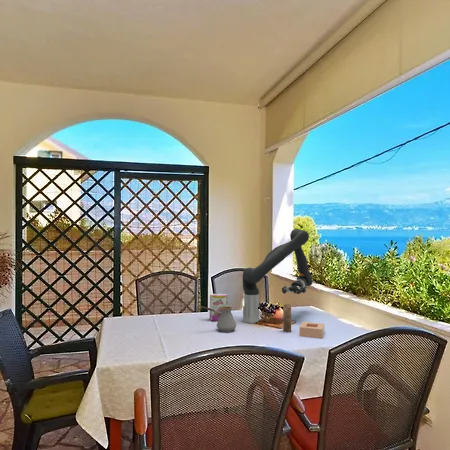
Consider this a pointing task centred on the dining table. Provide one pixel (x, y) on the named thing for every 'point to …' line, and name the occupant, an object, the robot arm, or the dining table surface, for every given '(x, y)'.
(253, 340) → the dining table surface
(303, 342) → the dining table surface
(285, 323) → the walnut peg
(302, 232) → the robot arm
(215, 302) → the candy bar box
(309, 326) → the socket block
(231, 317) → the coffee pot
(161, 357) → the dining table surface
